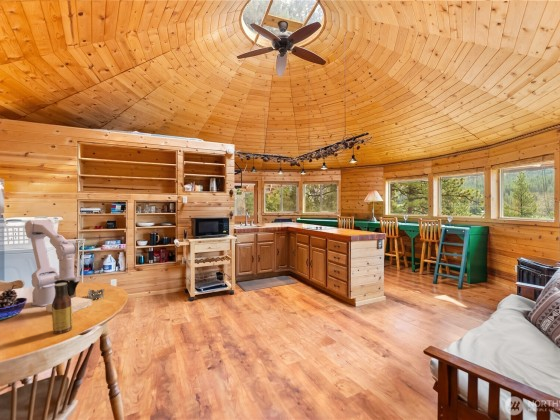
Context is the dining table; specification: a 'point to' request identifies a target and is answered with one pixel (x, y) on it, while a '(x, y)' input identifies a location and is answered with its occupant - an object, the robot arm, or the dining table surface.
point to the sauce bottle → (61, 310)
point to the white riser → (75, 304)
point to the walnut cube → (72, 295)
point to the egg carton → (95, 294)
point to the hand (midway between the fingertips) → (67, 294)
